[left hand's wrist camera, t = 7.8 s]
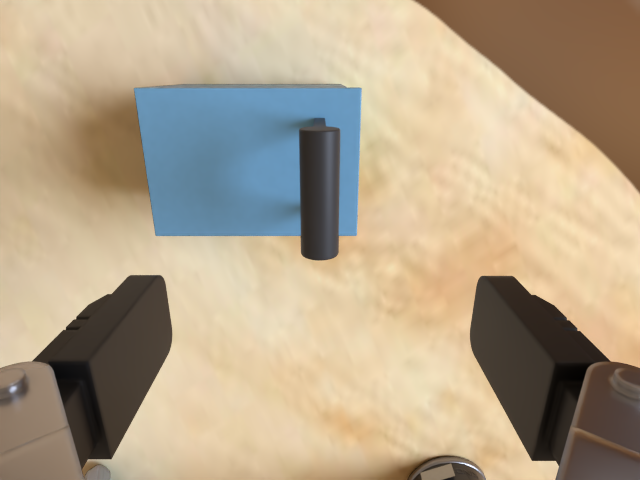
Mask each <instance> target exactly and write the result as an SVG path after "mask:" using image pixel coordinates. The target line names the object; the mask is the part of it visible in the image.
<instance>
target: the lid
mask: <svg viewBox="0 0 640 480" xmlns="http://www.w3.org/2000/svg"><path fill="white" fill-rule="evenodd" d="M361 90H362V89H361V88H134V92H135V99H136V106H137V112H138V119H139V126H140V133H141V139H142V146H143V153H144V160H145V167H146V173H147V180H148V187H149V194H150V200H151V207H152V214H153V221H154V227H155V234H156V236H301V254H302V255H303V256H304V257H305V258H308V259H311V260H328V259H332V258H334V257H336V256H337V255H338V247H339V236H356V235H357V211H358V181H359V150H360V120H361Z"/></svg>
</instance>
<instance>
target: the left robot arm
mask: <svg viewBox="0 0 640 480" xmlns="http://www.w3.org/2000/svg"><path fill="white" fill-rule="evenodd" d="M470 342H471V347H472V351H473V354H474V356H475V358H476V359H477V361H478V363H479V365H480V367H481V368H482V370H483V372H484V374H485V376H486V378H487V379H488V381H489V383H490V385H491V387H492V389H493V390H494V392H495V394H496V396H497V398H498V399H499V401H500V403H501V405H502V407H503V409H504V410H505V412H506V414H507V416H508V418H509V420H510V421H511V423H512V425H513V427H514V429H515V431H516V432H517V434H518V436H519V438H520V440H521V441H522V443H523V445H524V447H525V449H526V451H527V452H528V454H529V456H530V458H531V460H532V461H556V462H557V464H558V465H559V469H558V473H557V476H556V480H640V368H638V367H635V366H632V365H628V364H624V363H618V362H611V361H610V360H609V359H608V358H607V357H606V356H605V355H604V354H603V353H602V352H601V351H600V350H599V349H598V348H597V347H596V346H595V345H593V344H592V343H591V342H590V341H589V340H588V339H587V338H586V337H585V336H584V335H583V334H582V333H581V332H580V331H577V328H576V327H575V326H574V325H573V324H572V323H571V322H570V321H569V320H567V318H566V317H565V316H564V315H563V314H562V313H561V312H560V311H559V310H558V309H557V308H556V307H555V306H554V305H552V304H550V303H549V302H547V301H545V300H543V299H541V298H540V297H538V296H536V295H531V294H530V293H529V292H528V291H527V290H526V289H525V288H524V287H523V286H522V285H521V284H520V283H519V282H518V281H517V279H516V278H514V277H513V276H481V277H480V278H479V280H478V283H477V287H476V294H475V301H474V308H473V314H472V321H471V328H470ZM171 343H172V325H171V319H170V312H169V305H168V298H167V291H166V285H165V281H164V279H163V277H162V276H160V275H130V276H129V277H127V278H126V280H125V281H124V282H123V283H122V284H121V285H120V286H119V287H118V288H117V289H116V290H115V291H114V292H113V293H112V294H107V295H105V296H104V297H102V298H100V299H98V300H96V301H95V302H93V303H91V304H89V305H88V306H87V307H86V308H85V309H84V310H83V311H82V312H81V313H80V314H79V315H78V316H77V317H76V320H73V321H72V322H71V323H70V324H69V325H68V326H67V327H66V330H63V331H62V332H61V333H60V334H59V335H58V336H57V337H56V338H55V339H54V340H53V341H52V342H51V343H50V344H49V345H48V346H47V347H46V348H45V349H44V350H43V351H42V352H41V353H40V354H39V355H38V356H37V357H36V358H35V359H34V360H33V361H32V362H22V363H16V364H12V365H8V366H5V367H2V368H0V480H84V476H83V473H82V468H83V466H84V465H85V463H86V462H87V460H88V459H112V457H113V455H114V453H115V452H116V450H117V448H118V446H119V444H120V442H121V440H122V439H123V437H124V435H125V433H126V431H127V429H128V427H129V426H130V424H131V422H132V420H133V418H134V416H135V415H136V413H137V411H138V409H139V407H140V405H141V403H142V402H143V400H144V398H145V396H146V394H147V392H148V391H149V389H150V387H151V385H152V383H153V381H154V379H155V378H156V376H157V374H158V372H159V370H160V368H161V367H162V365H163V363H164V361H165V359H166V357H167V355H168V353H169V351H170V348H171ZM408 480H486V478H485V476H484V474H483V472H482V470H481V469H480V468H479V467H478V466H477V465H476V464H474V463H473V462H471V461H469V460H467V459H464V458H459V457H441V458H436V459H433V460H430V461H427V462H425V463H424V464H422V465H420V466H419V467H418V468H416V469H415V470H414V471H413V472H412V474H411V475H410V477H409V479H408Z"/></svg>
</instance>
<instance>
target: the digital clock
mask: <svg viewBox="0 0 640 480" xmlns="http://www.w3.org/2000/svg"><path fill="white" fill-rule="evenodd" d="M84 480H110V471H109V470H108V469H107V468H106V467H105V466H103V465H97V466H95V467H93V468H92V469H90V470H89V471H87V473H86V475H85V477H84Z"/></svg>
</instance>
